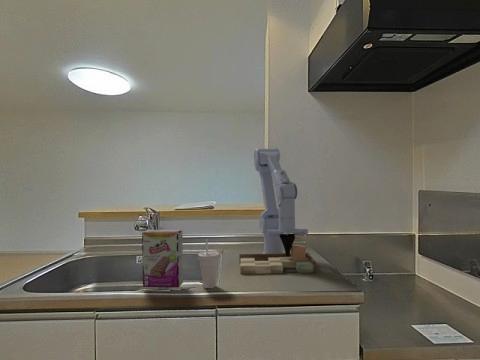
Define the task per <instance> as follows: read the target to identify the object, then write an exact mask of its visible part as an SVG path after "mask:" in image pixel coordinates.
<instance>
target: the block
mask: <svg viewBox="0 0 480 360" xmlns="http://www.w3.org/2000/svg"><path fill="white" fill-rule="evenodd" d="M306 248H307V247H306V246H305V245H304V244H292V247H291V250H290V253H291V258H292V260H306V253H307V251H306Z"/></svg>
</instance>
